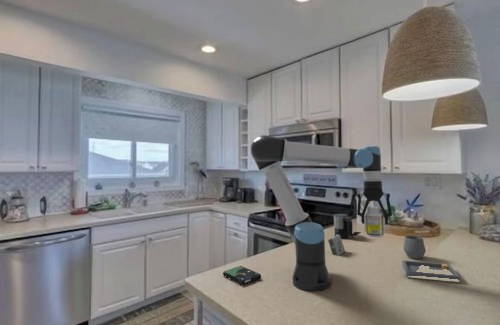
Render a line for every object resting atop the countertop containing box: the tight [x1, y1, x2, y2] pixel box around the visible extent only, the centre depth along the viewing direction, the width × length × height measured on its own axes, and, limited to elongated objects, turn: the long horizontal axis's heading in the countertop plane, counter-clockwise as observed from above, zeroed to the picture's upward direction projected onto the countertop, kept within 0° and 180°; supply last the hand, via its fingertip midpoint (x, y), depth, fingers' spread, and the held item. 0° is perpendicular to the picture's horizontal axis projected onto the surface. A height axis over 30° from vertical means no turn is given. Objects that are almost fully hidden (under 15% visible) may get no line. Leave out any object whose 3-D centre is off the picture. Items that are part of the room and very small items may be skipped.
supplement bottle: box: [365, 206, 384, 238], centre depth 126 cm, size 7×7×13 cm
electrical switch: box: [327, 235, 346, 256], centre depth 152 cm, size 9×5×9 cm, turn 141°
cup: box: [403, 235, 426, 260], centre depth 139 cm, size 10×9×10 cm
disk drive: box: [222, 265, 262, 286], centre depth 122 cm, size 10×3×15 cm
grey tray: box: [401, 260, 461, 281], centre depth 118 cm, size 18×15×2 cm
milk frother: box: [332, 213, 362, 240], centre depth 185 cm, size 14×16×15 cm
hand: (374, 231), depth 126 cm, fingers closed on supplement bottle, 7 cm apart
